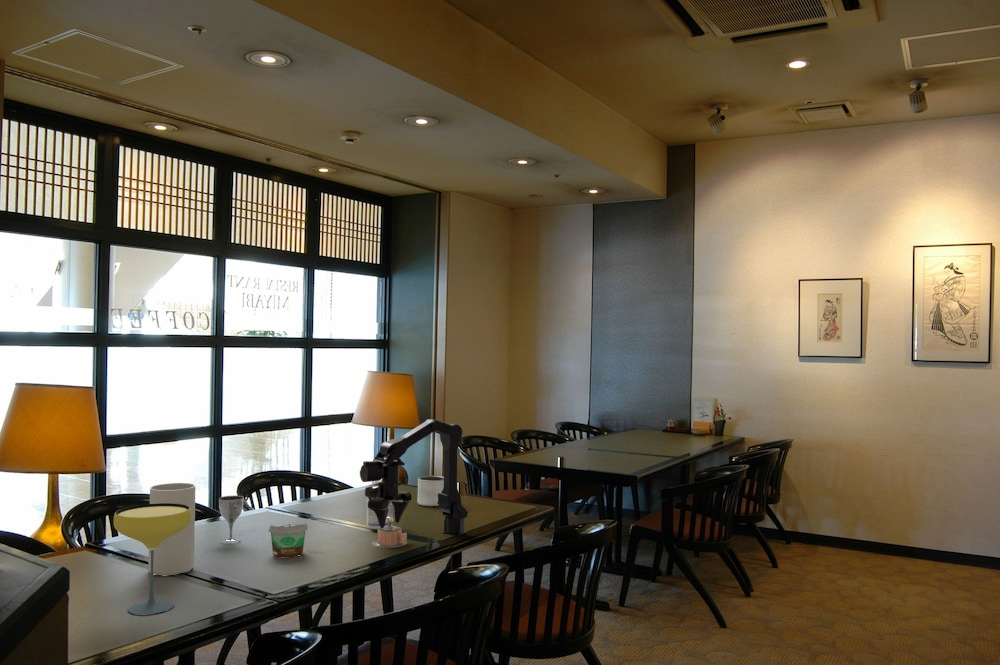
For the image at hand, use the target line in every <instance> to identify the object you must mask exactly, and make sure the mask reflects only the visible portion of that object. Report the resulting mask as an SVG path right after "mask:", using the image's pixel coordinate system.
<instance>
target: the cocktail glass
mask: <svg viewBox="0 0 1000 665" xmlns="http://www.w3.org/2000/svg"><path fill="white" fill-rule="evenodd" d="M190 519H191V510H190V507H189V506H187V505H183V504H173V503H157V504H150V503H147V504H145V503H144V504H139V505H132V506H127V507H124V508H120V509H117V510H116V511H115V512H114V515H113V527H114V529H115V530H116V531H117V532H118V533H119V534H121V535H123V536H125V537H128V538H130V539H133V540H135V541H138V542H140V543H142V544H143V546H144V547H146V549H147V550H148V551H149V550H151V574H150V577H149V578H150V580H149V581H150V582H149V595H148V598H147V601H142V602H138V603H135V604H133V605H131V606H129V607H130V608H128V609H129V610H128V609H127V612H128V611H129V612H130V613H132V614H131V615H133V614H154V615H156V614H155V613H159V614H161V613H160V612H163V613H165V612H164V611H166V610H169V609H171V608H172V607H173V606H174V607H175V604H174V603H173V602H172V601H169V600H158V599H156V600H155V595H154V575H153V557H154V550H155V549H156V548H157V547H158V546H159V545H160V543H161V542H162V541H164V540H165V539H167V538H168V537H170V536H172V535H174V534H176V533H178V532H179V531H181V530H182V529H184V528H185V527H186V526H187V525H188V524H189V522H190ZM174 607H173V608H174ZM173 608H172V609H173ZM172 609H171V610H172ZM169 611H170V610H169ZM129 612H128V613H129ZM166 612H167V611H166ZM130 613H129V614H130Z"/></svg>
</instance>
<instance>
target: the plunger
mask: <svg viewBox="0 0 1000 665" xmlns="http://www.w3.org/2000/svg"><path fill="white" fill-rule="evenodd" d="M386 522H388V529H391V522H393V523H394V522H395V516H393V517H387V518H386ZM388 532H391V531H388Z"/></svg>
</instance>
